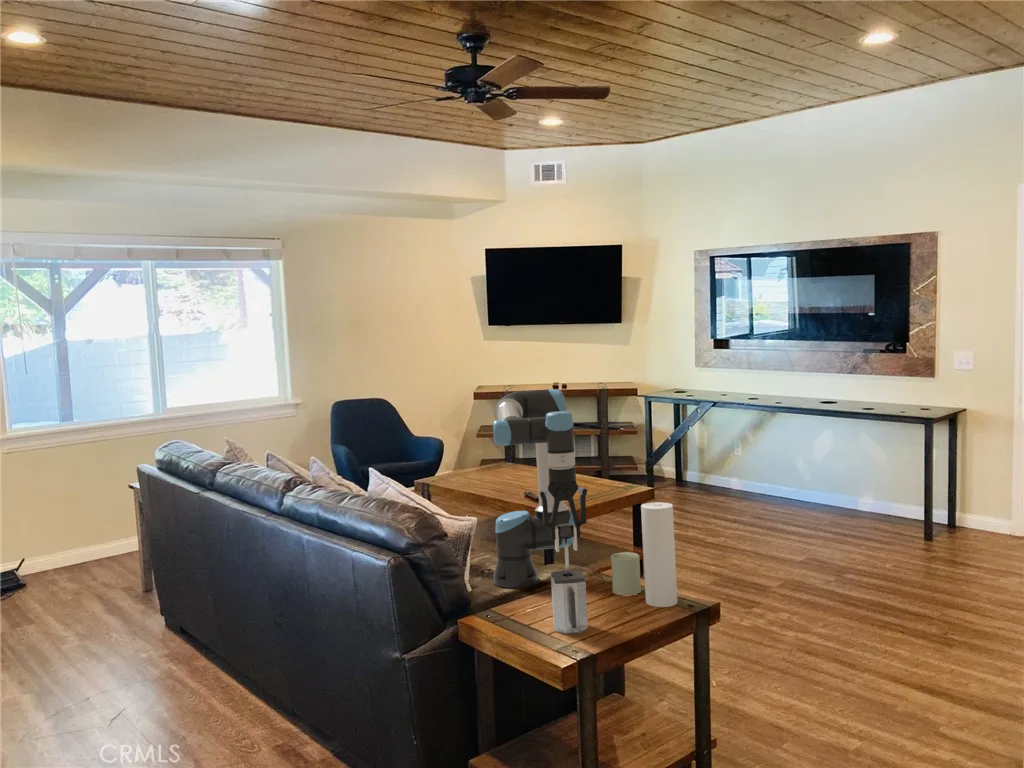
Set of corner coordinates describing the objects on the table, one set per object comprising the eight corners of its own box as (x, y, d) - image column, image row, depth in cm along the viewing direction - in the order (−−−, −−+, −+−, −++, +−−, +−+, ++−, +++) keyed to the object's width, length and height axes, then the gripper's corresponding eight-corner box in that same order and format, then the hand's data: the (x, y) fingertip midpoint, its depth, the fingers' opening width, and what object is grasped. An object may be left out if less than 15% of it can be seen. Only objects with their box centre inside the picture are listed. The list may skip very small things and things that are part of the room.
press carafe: (551, 622, 219) (548, 571, 218) (584, 620, 220) (582, 568, 219) (557, 639, 207) (554, 584, 206) (592, 636, 207) (589, 581, 207)
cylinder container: (677, 607, 226) (672, 506, 225) (645, 606, 228) (640, 507, 227) (677, 596, 235) (672, 500, 234) (646, 596, 237) (641, 500, 236)
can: (612, 587, 248) (610, 550, 248) (641, 587, 247) (639, 550, 246) (612, 596, 239) (610, 558, 239) (642, 596, 238) (640, 558, 237)
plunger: (555, 593, 217) (551, 523, 216) (578, 591, 218) (574, 521, 217) (558, 600, 211) (554, 529, 210) (582, 598, 211) (578, 527, 210)
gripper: (531, 471, 208) (536, 556, 209) (595, 467, 209) (599, 551, 210) (529, 467, 216) (534, 549, 217) (590, 463, 217) (594, 544, 218)
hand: (566, 549), depth 214 cm, fingers closed on plunger, 4 cm apart
